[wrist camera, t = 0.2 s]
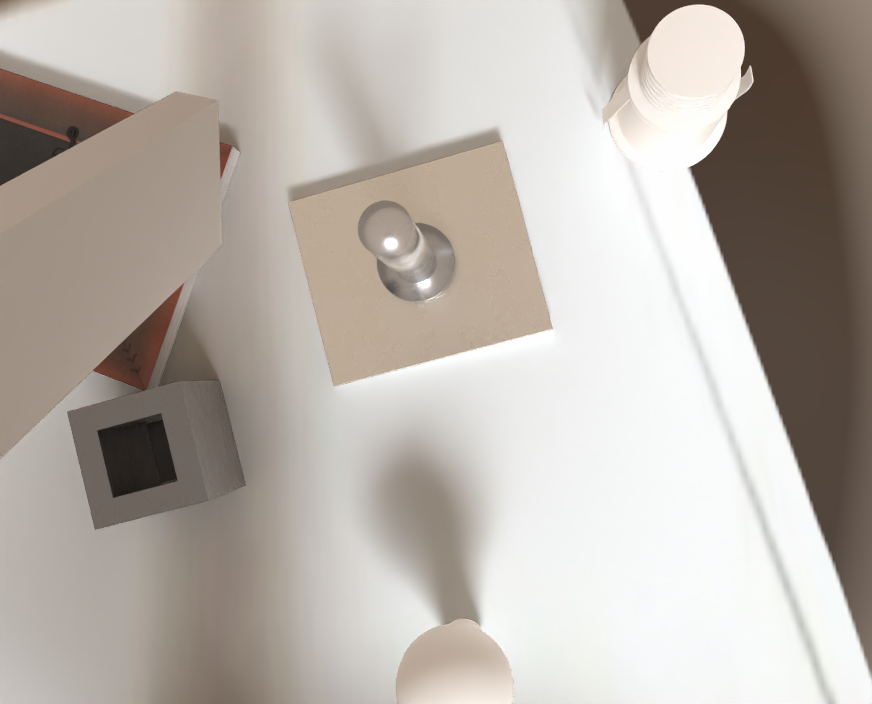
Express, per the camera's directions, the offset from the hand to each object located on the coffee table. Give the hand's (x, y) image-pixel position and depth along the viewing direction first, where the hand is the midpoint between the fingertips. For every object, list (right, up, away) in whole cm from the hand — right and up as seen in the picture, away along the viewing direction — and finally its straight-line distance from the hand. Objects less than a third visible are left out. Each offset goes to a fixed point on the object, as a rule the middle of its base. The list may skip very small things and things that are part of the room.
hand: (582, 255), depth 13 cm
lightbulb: (-1, -19, +35) cm, 40 cm away
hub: (-19, -8, +37) cm, 43 cm away
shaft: (-4, +4, +36) cm, 36 cm away
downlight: (+12, +13, +35) cm, 39 cm away
